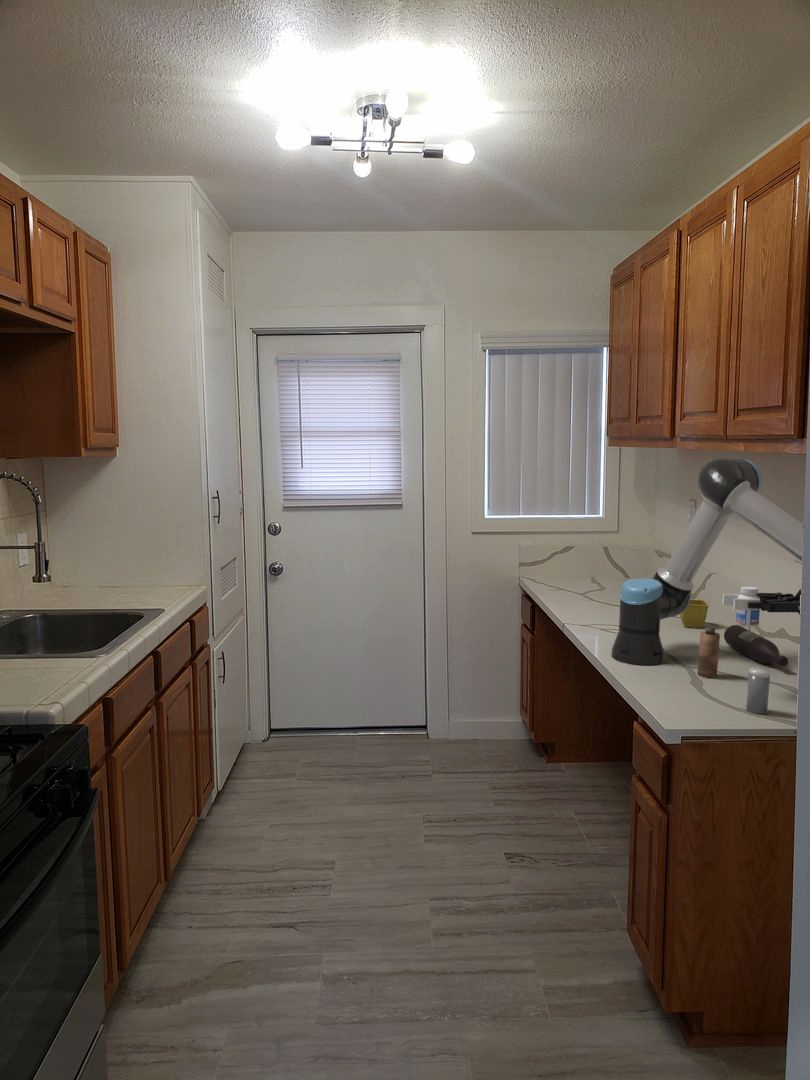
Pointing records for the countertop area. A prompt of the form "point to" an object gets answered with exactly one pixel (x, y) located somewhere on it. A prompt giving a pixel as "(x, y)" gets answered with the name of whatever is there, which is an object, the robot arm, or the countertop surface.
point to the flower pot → (694, 614)
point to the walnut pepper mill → (708, 653)
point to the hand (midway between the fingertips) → (728, 601)
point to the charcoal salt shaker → (758, 690)
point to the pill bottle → (748, 616)
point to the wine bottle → (753, 645)
